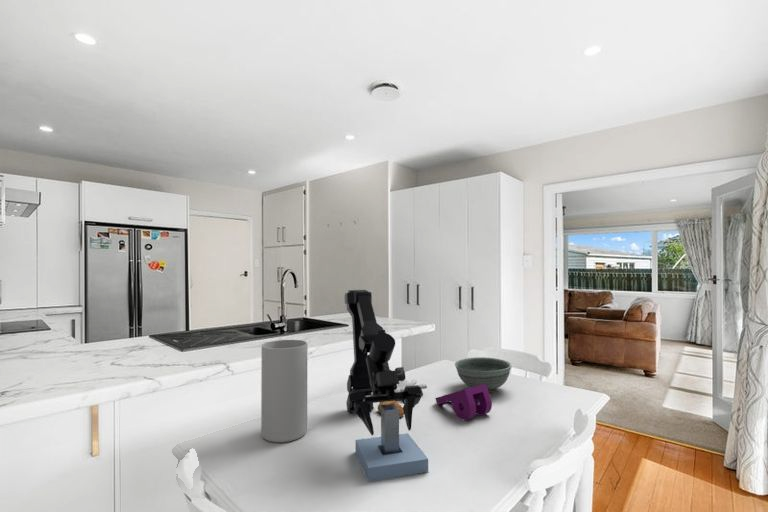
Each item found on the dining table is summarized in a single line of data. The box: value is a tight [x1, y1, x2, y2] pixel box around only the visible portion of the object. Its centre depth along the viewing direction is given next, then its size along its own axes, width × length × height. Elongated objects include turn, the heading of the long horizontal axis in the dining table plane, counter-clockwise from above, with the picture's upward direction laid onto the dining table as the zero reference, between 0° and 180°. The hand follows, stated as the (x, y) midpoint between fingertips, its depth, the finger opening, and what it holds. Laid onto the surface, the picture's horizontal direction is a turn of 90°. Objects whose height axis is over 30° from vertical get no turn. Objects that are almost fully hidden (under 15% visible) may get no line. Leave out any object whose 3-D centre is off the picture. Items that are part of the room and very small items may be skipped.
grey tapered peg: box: [380, 404, 400, 455], centre depth 94 cm, size 4×4×13 cm
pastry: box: [377, 401, 405, 418], centre depth 124 cm, size 9×7×4 cm
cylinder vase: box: [260, 339, 308, 444], centre depth 109 cm, size 12×12×25 cm
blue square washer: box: [355, 432, 429, 483], centre depth 94 cm, size 14×14×3 cm
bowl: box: [454, 356, 512, 394], centre depth 147 cm, size 21×21×10 cm
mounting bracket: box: [435, 384, 493, 421], centre depth 126 cm, size 9×8×18 cm
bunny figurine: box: [394, 379, 428, 402], centre depth 140 cm, size 10×5×15 cm
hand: (391, 432), depth 92 cm, fingers open, 9 cm apart
